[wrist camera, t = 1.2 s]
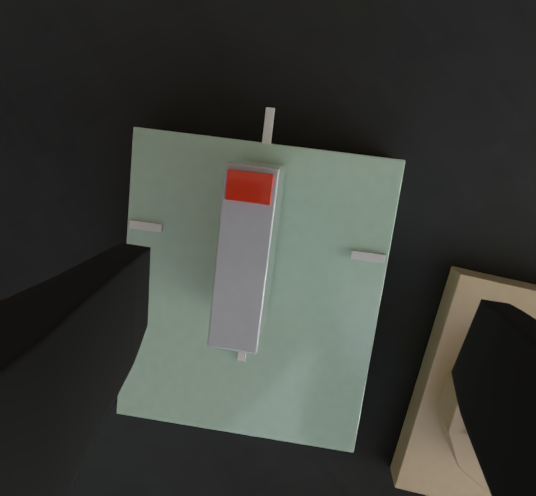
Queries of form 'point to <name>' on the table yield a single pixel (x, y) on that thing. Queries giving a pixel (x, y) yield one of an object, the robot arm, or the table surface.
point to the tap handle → (245, 253)
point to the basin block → (281, 296)
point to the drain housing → (449, 392)
